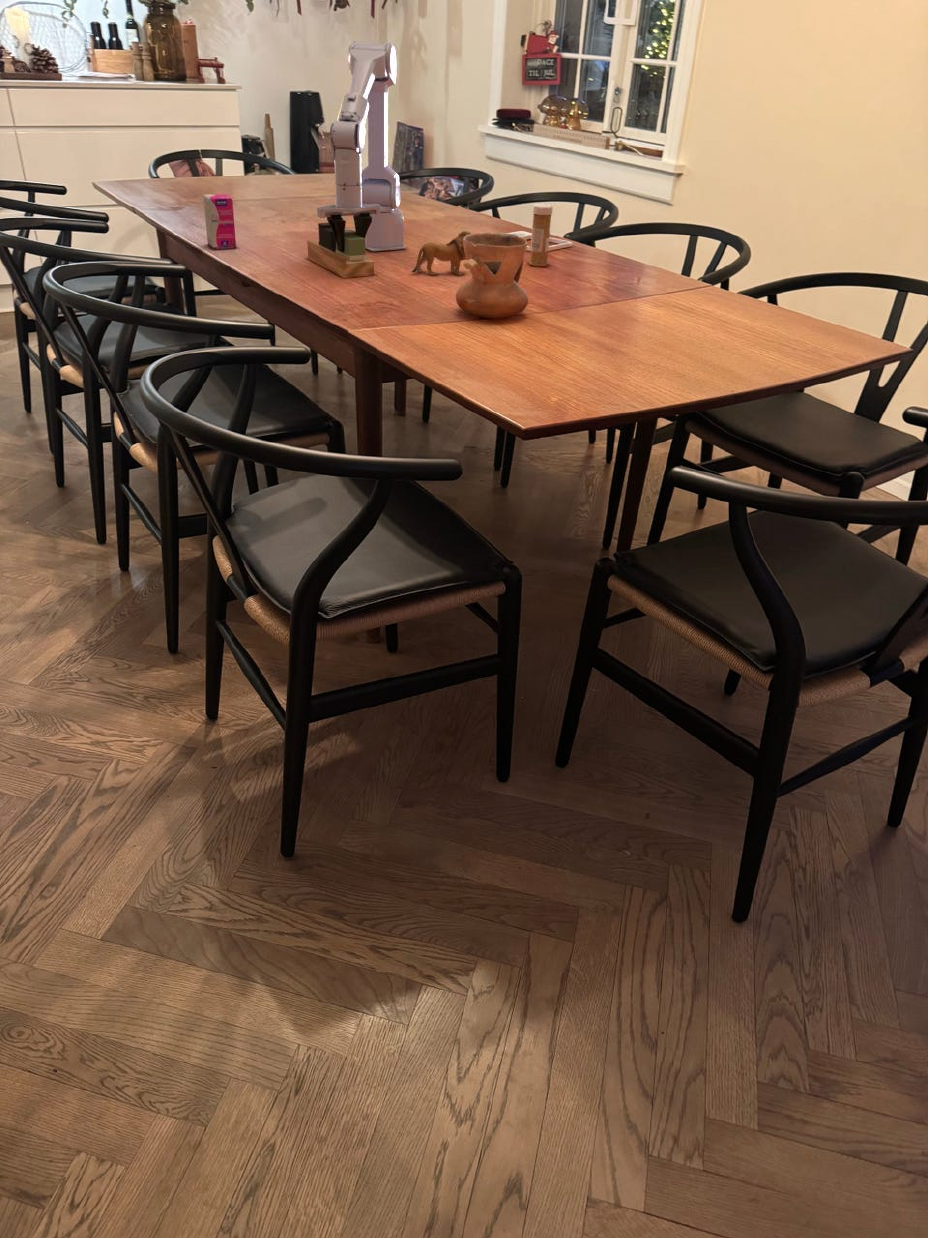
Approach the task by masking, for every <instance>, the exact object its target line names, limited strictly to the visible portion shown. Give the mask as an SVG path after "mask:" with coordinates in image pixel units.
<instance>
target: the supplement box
mask: <svg viewBox="0 0 928 1238" xmlns="http://www.w3.org/2000/svg"><path fill="white" fill-rule="evenodd" d="M202 200H203V201H202V202H203V211H204V220H205V230H206V231H205V233H206V241H207V245H208V246H209V247H210V248H211V249H212V250H227V249H237V238H236V228H235V227H236V225H235V215H234V214H235V213H234V203H233V198H232V197H231V196H229V195H228V194H227V193H207V194H206V193H205V194H204V193H203V194H202Z"/></svg>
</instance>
